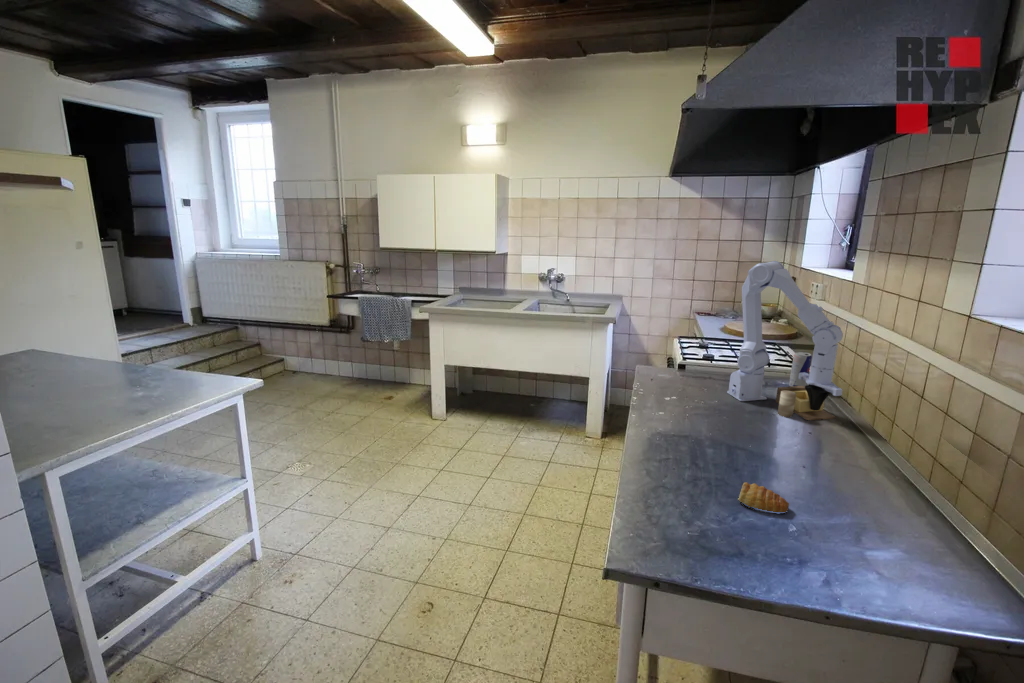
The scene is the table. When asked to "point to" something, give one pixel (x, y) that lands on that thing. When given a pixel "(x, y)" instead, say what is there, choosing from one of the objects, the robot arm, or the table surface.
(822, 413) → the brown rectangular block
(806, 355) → the energy drink
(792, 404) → the birch dowel
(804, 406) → the socket block
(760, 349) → the robot arm
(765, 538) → the table surface
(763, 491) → the pastry
